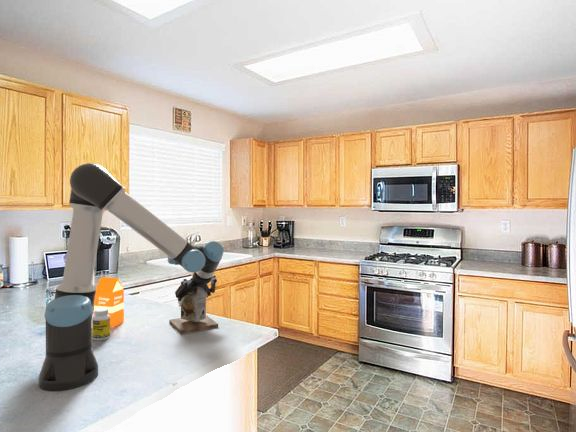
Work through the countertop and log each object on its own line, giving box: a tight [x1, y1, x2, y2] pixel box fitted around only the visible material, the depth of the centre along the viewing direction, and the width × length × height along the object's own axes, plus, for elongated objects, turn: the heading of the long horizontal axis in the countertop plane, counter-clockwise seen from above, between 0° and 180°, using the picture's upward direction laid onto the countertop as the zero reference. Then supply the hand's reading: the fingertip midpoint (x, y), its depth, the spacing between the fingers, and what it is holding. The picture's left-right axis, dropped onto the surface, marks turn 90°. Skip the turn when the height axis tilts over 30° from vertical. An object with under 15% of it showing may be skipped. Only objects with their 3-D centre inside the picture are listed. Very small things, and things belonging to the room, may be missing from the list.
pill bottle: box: [92, 308, 111, 341], centre depth 140 cm, size 6×6×11 cm
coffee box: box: [180, 280, 207, 322], centre depth 156 cm, size 9×6×16 cm
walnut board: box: [168, 314, 219, 335], centre depth 156 cm, size 16×16×2 cm
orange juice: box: [93, 276, 125, 328], centre depth 157 cm, size 8×9×20 cm
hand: (191, 302), depth 159 cm, fingers closed on coffee box, 9 cm apart
